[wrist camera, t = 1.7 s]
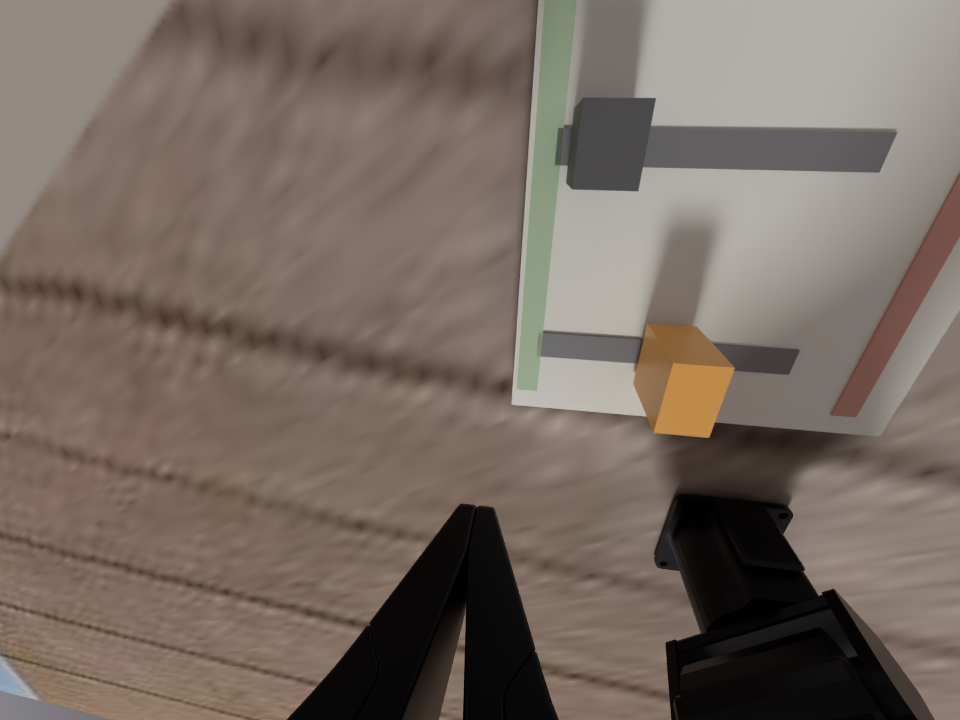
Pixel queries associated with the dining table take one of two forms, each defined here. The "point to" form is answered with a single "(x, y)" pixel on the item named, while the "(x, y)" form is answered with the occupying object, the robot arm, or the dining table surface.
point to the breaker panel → (742, 201)
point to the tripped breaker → (681, 380)
